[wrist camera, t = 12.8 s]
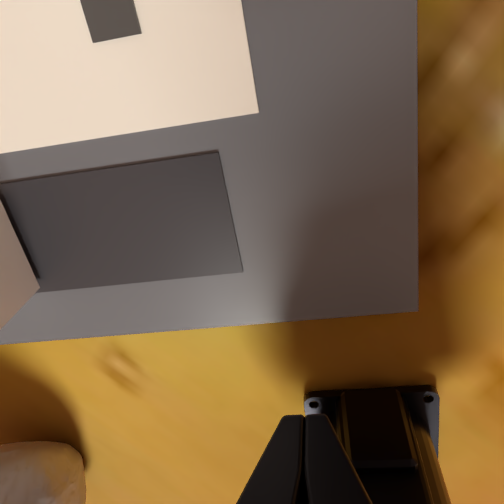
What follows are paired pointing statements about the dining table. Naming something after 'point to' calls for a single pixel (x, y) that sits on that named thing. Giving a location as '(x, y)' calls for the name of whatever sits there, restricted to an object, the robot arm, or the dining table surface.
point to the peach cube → (13, 272)
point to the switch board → (209, 162)
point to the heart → (41, 473)
